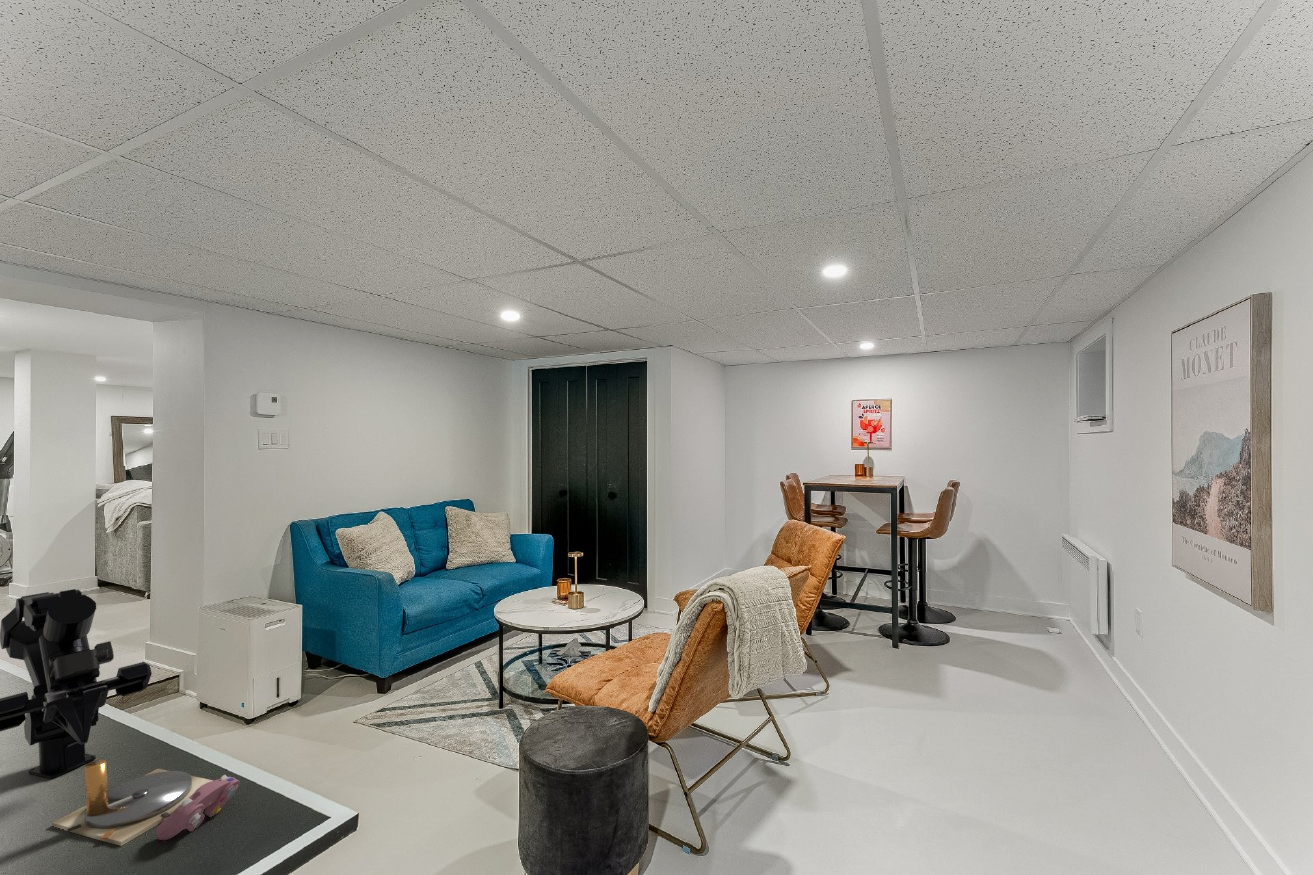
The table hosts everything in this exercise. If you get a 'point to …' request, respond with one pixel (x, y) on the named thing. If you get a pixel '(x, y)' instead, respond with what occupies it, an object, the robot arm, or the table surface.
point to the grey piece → (130, 796)
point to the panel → (122, 833)
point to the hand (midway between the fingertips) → (84, 742)
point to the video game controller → (198, 807)
